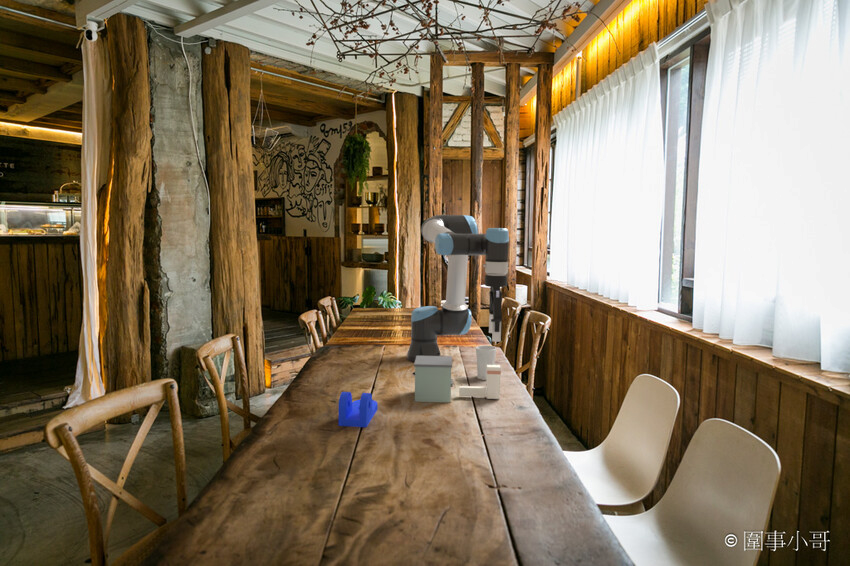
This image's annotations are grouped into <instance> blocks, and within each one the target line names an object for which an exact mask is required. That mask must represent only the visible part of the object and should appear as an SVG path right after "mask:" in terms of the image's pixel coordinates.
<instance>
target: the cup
mask: <svg viewBox="0 0 850 566" xmlns="http://www.w3.org/2000/svg"><path fill="white" fill-rule="evenodd" d="M475 353H476V371H477V372H476V373H477V376H476V377H477V378H476V379H479V380H483V381H487V365H496V356H497V355H496V354H497V347H496V346H495V345H494V346H493V345H477V346H476V347H475Z"/></svg>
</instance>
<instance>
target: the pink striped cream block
mask: <svg viewBox="0 0 850 566" xmlns="http://www.w3.org/2000/svg"><path fill="white" fill-rule="evenodd" d="M501 369H502V368H501V365H500V364H495V365H487V380H485V381H486V386H476V385H474V386H473V385H459V391H458V395H459V397H472V398H473V397H477V398H478V397H479V398H486V399H488V400H500V398H501V373H502V370H501Z"/></svg>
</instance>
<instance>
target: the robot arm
mask: <svg viewBox="0 0 850 566" xmlns="http://www.w3.org/2000/svg"><path fill="white" fill-rule="evenodd" d="M420 231H421V235H422V237H423V238H424V240H426V241H427V242H429V243H433V244H434V250H435V252H436V254H437V255H439V256H446V257H447V256H448V257H447V258H448V259H447V275H446V290H445V292H446V293H445V302H444V303H442V305H441V309H439V308H438V307H437V306H435V305H427V306H420V307H416V308H414V309H412V311H411V319H410V322H411V325H410V326H411V327H410V329H411V332H410V333H411V335H410V339H411V341H410V344H409V347H408V350H407V353H406V359H407V360H408V361H410V362H414V363H415V360H416V356H442V354H441V350H440V348H439V345H438V336H460V335H461V336H462V335H466V334H467V333H468V332H470V328H471V327H472V320H473V318H472V311H471V309H469V306H468V305H467V303H466V292H467V278H468V277H467V276H468V261H469V256H484V257H485V262H484V264H483V268H484V273H485V276H484V286H486V287H489V288H490V289H489V290H490V291H489V292H488V293H489V294H488V295H489V305H488V307H489V308H488V311H489V315H488V319H489V320H488V333H489V334H492V336H491V342H498V343H500V342H502V341H501V338H502V337H501V336H502V321H503V313H502V312H503V308H502V306H503V305H502V303H503V301H502V300H503V299H502V298H503V292H502V291H501V288H504V287H507V286H508V276H507V274H508V273H509V243H510V242H509V241H510V236H509V235H510V234H509V229H508V228H505V227H504V228H503V227H489V228H487V229H486V230H485V233H478V231H479V230H478V225H477V221H476V219H475V218H474V217H473V216H471V215H465V214H436V215H433V216H431V217H428V218H427V219H425V221H423V223H422V225H421V229H420Z"/></svg>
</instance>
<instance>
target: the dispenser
mask: <svg viewBox="0 0 850 566" xmlns="http://www.w3.org/2000/svg"><path fill="white" fill-rule="evenodd" d="M413 367H414V402H416V403H417V402H420V403H421V402H422V403H424V402H426V403H427V402H428V403H449V404H450V403H451V402H452V401H451V400H452V398H451V397H452V396H451V395H452V394H451V393H452V388H453V384H454V383H453V382H454V379H453V378H452V368H453V356H451V355H450V356H449V355H447V356H444V355H443V356H442V355H441V356H416V360H415V362H414V365H413Z"/></svg>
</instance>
